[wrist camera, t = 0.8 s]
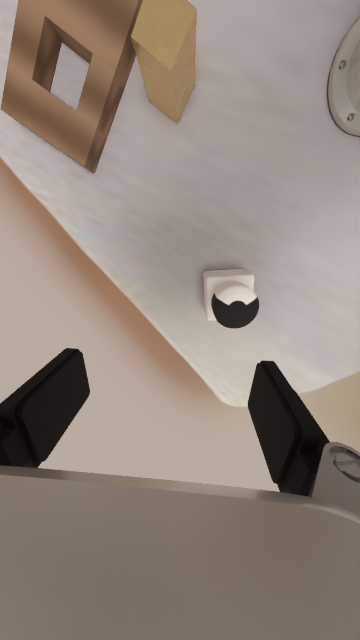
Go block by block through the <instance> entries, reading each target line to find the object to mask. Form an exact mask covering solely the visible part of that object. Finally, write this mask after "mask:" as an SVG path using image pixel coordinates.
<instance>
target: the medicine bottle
mask: <svg viewBox="0 0 360 640" xmlns="http://www.w3.org/2000/svg"><path fill="white" fill-rule="evenodd" d="M203 277H204V308H205V312H206V317H207V320H208V321H218V322H219V323H220V324H221V325H223V326H225V327H228V328H241V327H244V326H246V325H247V324H249V323H250V322H251V321H252V320H253V319H254V318H255V317H256V315H257V313H258V310H259V300H258V297H257V295H256V294H255V293H254V292H253V291H254V278H255V276H254V274H252V273H250V272H248V271H246V270H244V269H228V270H214V271H204V273H203Z"/></svg>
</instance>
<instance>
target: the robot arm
mask: <svg viewBox="0 0 360 640" xmlns="http://www.w3.org/2000/svg"><path fill="white" fill-rule="evenodd" d="M328 98H329V106H330V110H331V113H332V116H333V118H334V119H335V121H336V123H337V124H338V125H339V126H340V127H341V128H342V129H343V130H344V131H346V132H348V133H349V134H353V135H356V136H360V16H359V18H358V19H357V20H356V22H355V23H354V24H353V26H352V27H351V28H350V30H349V32H348V33H347V35H346V36H345V38H344V39H343V41H342V43H341V45H340V47H339V49H338V51H337V54H336V56H335V59H334V62H333V65H332V68H331V73H330V78H329V87H328ZM89 394H90V389H89V383H88V378H87V373H86V369H85V364H84V358H83V354H82V352H80V351H79V349H71V348H66V349H65V350H63V351H62V352H61V353H60V354H59V355H58V356H56V357H55V358H54V359H53V360H51V361H50V362H49V363H48V364H47V365H46V366H44V368H42V369H41V370H40V371H38V372H37V373H36V374H35V375H34V376H33V377H31V378H30V379H29V380H28V381H27V382H25V383H24V384H23V385H22V386H21V387H20V388H18V389H17V390H16V391H15V392H14V393H12V394H11V395H10V396H9V397H8V398H6V399H5V400H4V401H3V402H2V403H1V404H0V640H360V453H359V452H358V451H356V450H354V449H353V448H351V447H349V446H347V445H345V444H342V443H338V442H330V441H329V440H328V438H327V437H326V435H325V434H324V432H323V431H322V430H321V428H320V427H319V425H318V424H317V422H316V421H315V419H314V418H313V416H312V415H311V414H310V412H309V410H308V409H307V408H306V406H305V405H304V403H303V402H302V400H301V399H300V397H299V396H298V394H297V393H296V392H295V391H294V390H293V389H292V387H291V386H290V384H289V383H288V381H287V380H286V378H285V377H284V375H283V374H282V372H281V371H280V369H279V368H278V366H277V365H276V364H275V362H274V361H261V362H260V363H258V364H257V366H256V370H255V374H254V379H253V383H252V387H251V392H250V396H249V400H248V408H249V412H250V415H251V418H252V421H253V424H254V427H255V430H256V433H257V436H258V439H259V442H260V445H261V448H262V451H263V454H264V457H265V460H266V463H267V466H268V469H269V472H270V475H271V478H272V480H273V482H274V483H276V484H277V485H278V488H279V490H280V492H274V491H266V490H257V489H249V488H241V487H231V486H222V485H221V486H220V485H212V484H202V483H192V482H182V481H172V480H161V479H151V478H140V477H129V476H118V475H108V474H97V473H86V472H75V471H63V470H52V469H41V468H38V466H39V465H40V464H41V462H43V461H45V460H46V459H47V458H48V456H49V455H50V453H51V452H52V450H53V449H54V447H55V446H56V444H57V443H58V441H59V440H60V438H61V437H62V435H63V434H64V432H65V431H66V429H67V428H68V426H69V425H70V423H71V422H72V420H73V419H74V417H75V416H76V414H77V413H78V411H79V410H80V409H81V407H82V406H83V404H84V403H85V401H86V400H87V398H88V396H89Z"/></svg>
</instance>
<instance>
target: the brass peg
mask: <svg viewBox="0 0 360 640" xmlns="http://www.w3.org/2000/svg"><path fill="white" fill-rule="evenodd" d="M196 14H197V9H196V8H195V7H194V6H193V5H192V4H191V3H190V2H188V1H187V0H143V2H142V5H141V8H140V11H139V14H138V17H137V20H136V23H135V26H134V29H133V32H132V35H131V39H132V43H133V46H134V50H135V53H136V56H137V60H138V63H139V67H140V70H141V73H142V77H143V80H144V84H145V87H146V91H147V94H148V97H149V101H150V103H151V104H153V105H154V106H155V107H156V108H158V109H159V110H160V111H162V112H163V113H164V114H165V115H167V116H168V117H169V118H170V119H172V120H173V121H174V122H175V123H177V124H178V122H179V119H180V117H181V115H182V113H183V111H184V109H185V106H186V104H187V102H188V100H189V98H190V95H191V93H192V91H193V89H194V87H195V57H196Z"/></svg>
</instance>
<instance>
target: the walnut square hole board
mask: <svg viewBox="0 0 360 640" xmlns="http://www.w3.org/2000/svg"><path fill="white" fill-rule="evenodd" d="M142 2H143V0H18V7H17V13H16V19H15V25H14V31H13V37H12V43H11V49H10V55H9V62H8V68H7V74H6V80H5V86H4V92H3V98H2V104H1V110H2V111H4V112H5V113H6V114H8V115H9V116H11V117H12V118H14V119H15V120H16V121H18V122H19V123H21V124H22V125H24V126H25V127H27V128H28V129H30V130H31V131H32V132H34V133H35V134H37V135H38V136H40V137H41V138H43V139H44V140H46V141H47V142H49V143H50V144H52V145H53V146H54V147H56V148H57V149H59V150H60V151H62V152H63V153H65V154H66V155H68V156H69V157H71V158H72V159H73V160H75V161H76V162H78V163H79V164H81V165H82V166H84V167H85V168H87V169H88V170H90V171H91V172H93V173H95V170H96V167H97V164H98V162H99V159H100V156H101V153H102V150H103V147H104V144H105V142H106V139H107V136H108V133H109V130H110V127H111V124H112V121H113V119H114V116H115V113H116V110H117V107H118V104H119V101H120V99H121V96H122V93H123V90H124V87H125V84H126V81H127V79H128V76H129V73H130V70H131V67H132V64H133V61H134V59H135V56H136V53H135V50H134V46H133V43H132V39H131V35H132V32H133V29H134V26H135V23H136V20H137V17H138V14H139V11H140V8H141V5H142ZM61 42H63V43H64V44H65V45H67V46H68V47H69V48H71V49H72V50H73V51H74V52H76V53H77V54H78V55H79V56H81V57H82V58H83V59H85V60H86V61H87V62H88V63H90V65H89V69H88V72H87V76H86V79H85V83H84V86H83V90H82V93H81V97H80V100H79V104H78V107H77V111H75V110H73V109H72V108H71V107H69V106H68V105H66V104H65V103H64V102H62V101H61V100H60V99H58V98H57V97H55V96H54V95H53V94H51V93H50V89H51V84H52V80H53V76H54V72H55V67H56V63H57V59H58V55H59V50H60V46H61Z"/></svg>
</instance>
